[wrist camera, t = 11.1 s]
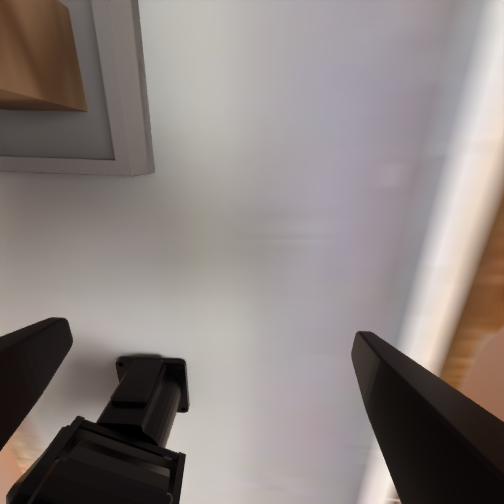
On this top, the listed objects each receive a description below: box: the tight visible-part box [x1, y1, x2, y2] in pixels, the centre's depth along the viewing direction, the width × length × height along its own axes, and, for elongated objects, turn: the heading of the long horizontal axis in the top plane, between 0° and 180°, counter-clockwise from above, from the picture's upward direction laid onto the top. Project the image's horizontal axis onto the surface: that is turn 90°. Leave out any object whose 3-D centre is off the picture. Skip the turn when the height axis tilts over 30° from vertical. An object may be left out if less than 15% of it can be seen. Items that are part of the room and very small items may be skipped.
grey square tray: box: [0, 0, 155, 176], centre depth 14 cm, size 12×12×4 cm
